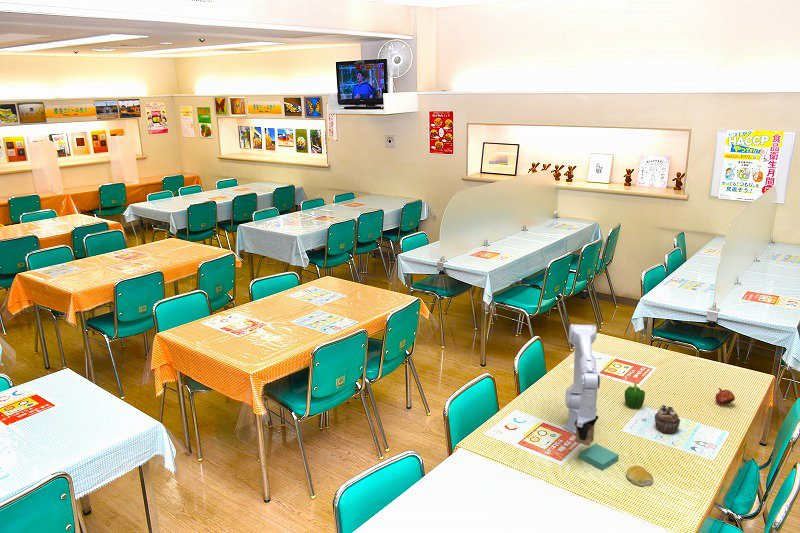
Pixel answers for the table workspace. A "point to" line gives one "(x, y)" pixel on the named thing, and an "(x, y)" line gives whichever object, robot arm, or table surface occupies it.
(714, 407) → the table surface
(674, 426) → the cupcake
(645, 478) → the bread roll
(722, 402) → the pomegranate
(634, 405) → the bell pepper
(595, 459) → the teal base
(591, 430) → the walnut block
